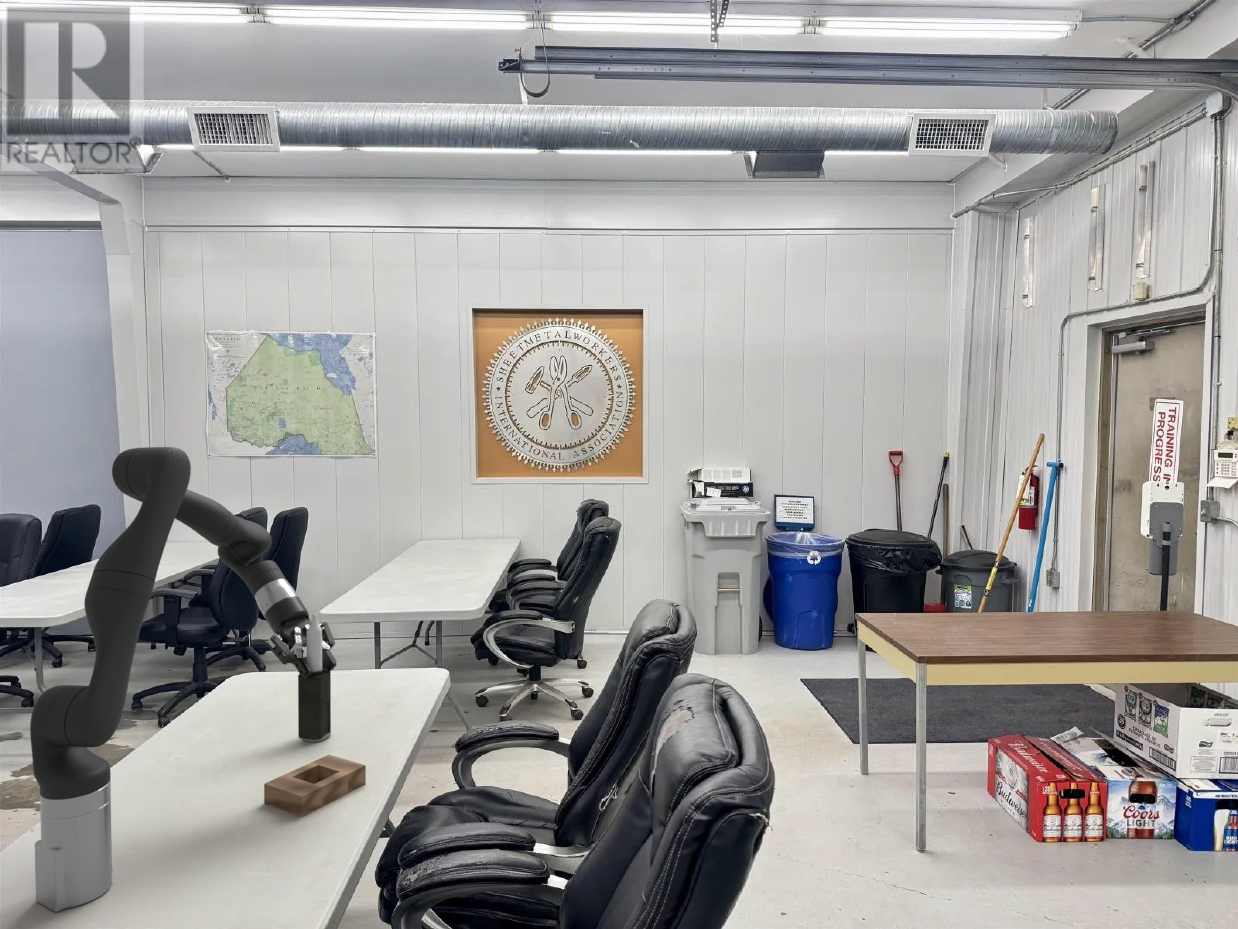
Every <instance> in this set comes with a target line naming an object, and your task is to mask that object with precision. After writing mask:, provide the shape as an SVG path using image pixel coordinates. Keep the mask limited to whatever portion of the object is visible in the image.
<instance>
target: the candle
mask: <svg viewBox="0 0 1238 929" xmlns="http://www.w3.org/2000/svg"><path fill="white" fill-rule="evenodd" d="M311 617H312V618H311V620H310V621H311V624H310V626H309V628H308V629H307V647H306V657H307V663H308V665H309V666H310V668H311V670H312V674H311V676H310V677H309V678H306V679H305V678H304V677H302V676H301V675H300V674H298V676H297V682H298V684H297V687H298V688H297V690H298V691H297V693H298V694H297V700H298V702H297V703H298V706H297V707H298V709H297V710H298V712H297V713H298V716H297V718H298V721H297V723H298V726H297V727H298V732H297V733H298V735H297V736H298V739H302V740H304V739H310V740H318V739H321V738H322V737H323V736H325V735H326V734H328V733H330V732H331V733H332V730H331V729H332V724H331V722H332V720H331V719H332V718H331V717H332V715H331V711H332V710H331V709H332V708H331V707H332V705H331V701H332V700H331V698H332V696H331V692H332V691H331V683H332V681H331V671H332V670H331V671H330V670H327V669H326V667H323V666H322V629H321V627H320V626H319V622H318V619H317V613H316V612H314V613H312V614H311Z"/></svg>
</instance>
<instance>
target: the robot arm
mask: <svg viewBox="0 0 1238 929" xmlns="http://www.w3.org/2000/svg"><path fill="white" fill-rule="evenodd" d="M191 465H192V464H191V460H190V458H189V456H188V454H187V453H186V452H185V451H184V450H183V449H180V448H179V447H174V446H173V447H172V446H153V447H152V446H151V447H134V448H129V449H126V450H124V451H121V452H120V453H119V454H118V455H117V456H116V457H115V459H114V461H113V463H112V467H111V475H112V476H111V477H112V480H113V482H114V484H115V487H117V489H118V490H119V491H120V492H121V493H123V494H124V495H126V496H128V497H129V498H132V499H134V500H136V501H138V502H141V506H140V508H139V509H138V512H137V514H136V516H135V518H134V519H133V520H132V522H131V523H130V524H129V526H127V528H125V530H124V531H123V532H122V533H121V534H120V535H119V536H118V537H117V538H116V539H115V540H114V541H113V542H112V543H110V545H109V546H108V547H107V548H106V549H105V551H104V552H103V553H102V554H101V555H100V557H99V559H98V560H97V561H96V563H95V566H94V569H93V571H92V574H91V577H90V580H89V583H88V587H87V590H86V592H85V596H84V604H83V605H84V611H85V616H86V619H87V623H88V626H89V629H90V632H91V634H92V638H93V642H94V646H95V660H94V666H93V670H92V674H91V678H90V682H89V684H88V685H79V684H77V685H73V684H72V685H71V684H70V685H69V684H66V685H65V684H63V685H62V684H61V685H56V686H52V687H50V688H48V689H46V690H44V692H43V693H42V694H41V695H40V696H39V697H38V698H37V700H36V702H35V704H34V706H33V709H32V712H31V717H30V724H29V725H30V727H29V729H30V730H29V731H30V732H29V733H30V737H29V738H30V746H31V747H30V748H31V759H32V771H33V777H34V779H35V781H36V782H37V784H38V786H39V800H40V801H39V803H40V804H39V806H40V807H39V808H40V839H39V840H37V841H35V842H34V870H35V872H34V873H35V874H34V875H35V876H34V878H35V879H34V880H35V902H37V903H39V904H40V905H42V906H45V907H46V908H47V909H50V910H51V911H53V912H54V913H57V912H58V913H59V912H60V911H62V910H65V909H68V908H69V909H70V908H73V907H74V908H75V907H78V906H81V905H83V904H86V903H87V904H88V903H89V902H91V901H93V900H96V899H98V898H99V897H101V896H102V895H105V893H107V891H109V889H110V888H111V887H112V885H113V846H112V845H113V844H112V842H113V841H112V840H113V839H112V835H113V834H112V784H111V782H112V781H111V778H112V777H111V776H112V775H111V766H110V763H109V761H108V760H107V759H104V757H101V756H100V755H97V754H95V753H93V752H92V751H91V750H89V748H97V747H101V746H103V745H105V744H106V743H107V742H109V741H110V740H111V738H112V737H113V736H114V735H115V732H116V730H117V729H118V727H119V725H120V722H121V719H122V715H123V713H124V708H125V705H126V704H125V703H126V699H127V694H128V693H127V692H128V687H129V682H130V677H131V670H132V666H133V660H134V657H135V652H136V648H137V643H138V640H139V637H140V633H141V629H142V625H143V622H144V619H145V615H146V612H147V609H148V606H149V603H150V600H151V596H152V593H153V590H154V588H155V583H156V578H157V574H158V570H159V568H160V567H159V566H160V564H161V560H162V557H163V554H164V550H165V547H166V545H167V542H168V538H169V535H170V533H171V529H172V527H173V525H174V522H175V520H177V521H179V522H180V523H182V524H183V525H185V526H186V527H189V529H191V530H193V531H194V532H196V533H197V535H200V536H201V537H202V538H204V540H207V541H208V542H209V543H210V544H212V545H214V546H217V555H218V557H219V558H218V559H220V560H221V562H223V564H225V565H226V566H227V567H228V568H229V569H231V570H232V571H233V572H234V573H236V574H237V576H238V577H240V579H241V580H242V581H243V582H244V584H245V585H246V586H247V588H248V589H249V591H250V593H251V594H252V596H253V598H254V599H255V602H256V604H257V606H258V608H259V610H260V612H261V614H262V615H263V617H264V619H265V620H266V622H267V623H268V625H269V628H270V629H271V630H272V632H273V633H274V634H272V636H270V638H268V640H267V641H266V646H267V647H268V648H269V650H270V651H271V653H273V654H274V655H275V657H276V658H277V659H278V661H280V662H281V663H282V665H287V664H291V665H293V666H294V667H295V668H296V671H297V672H298V673H299V674H300V675H301V676H302V677H304V678H305V679H306V678H309V677H310V676H311V674H312V670H311V668H310V666H309V665H308V663H307V661H306V660H305V658H304V657H303V651H302V648H307V629H308V628H309V626H310V624H311V621H312V620H311V619H310V615H309V611H308V610H307V608H306V607H305V604H304V603H303V601H302V600H301V598H300V596H299V594H298V593H297V592H296V590H295V589H294V587H293V586H292V585H291V584H290V582H289V581H288V580H287V578H286V577H285V575H284V574H283V571H282V570H281V569H280V566H278V564H277V563H276V562H275V561H274V560H269V559H268V560H263V561H260V562H256V563H254V564H251V562H253V561H254V560H256V559H257V558H259V557H261V556H262V555H263V554H265V553H266V552H268V551H269V550H270V548H271V546H272V541H273V540H272V535H271V534H270V532H269V531H268V530H267V529H266V528H265V527H263V526H262V525H261V524H258V523H256V522H254V521H251V520H248V519H245V518H242V517H239V516H236V515H235V514H234V513H232V512H231V511H230V510H228V508H226V507H225V506H224V505H222V504H221V503H220V502H217V501H216V500H214V499H212V498H210V497H207V496H205V495H203V494H200V493H197V492H195V491H192V490H190V489H188V487H189V484H190V479H191V471H192V470H191V469H192V466H191ZM249 564H251V565H249ZM318 625H319V626H320V627H321V629H322V661H323V663H324V664H325V666H326V667H327V669H328V670H330V671H332V670H334V669H335V668H336V667H337V664H338V663H337V659H336V658H335V656H334V655H333V653H332V651H331V649H332V648H333V647H334V646H335V645H336V641H335V639H334V636H333V633H332V631H331V628H330V626H329V624H328V622H327V621H323V622H322V623H320V624H319V623H318ZM299 674H298V675H299Z"/></svg>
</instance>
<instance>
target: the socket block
mask: <svg viewBox="0 0 1238 929" xmlns="http://www.w3.org/2000/svg"><path fill="white" fill-rule="evenodd" d="M366 771H367V770H366V765H365V764H363V763H359V762H356V761H352V760H349V759H345V758H343V757H339V756H334V755H332V754H327V755H324V756H322V757H320V758H318V759H315V760H314V761H311V762H309V763H307V764H305V765H302V766H300V767H298V768H296V769H293V770H291V771H290V772H287V773H285V774H283V775H281V776H280V775H279V776H278V777H275V778H274V779H272V780H269V781H267V782H265V783H263V789H264V790H263V793H264V794H263V802H264V803H263V804H264V805H265V804H266V805H267V804H268V805H267V806H270V807H273V808H276V809H279V810H282V811H284V812H287V811H288V812H287V813H290V814H293V815H295V814H296V816H297V817H298V816H299V817H301V818H302V817H303V818H304V817H305V816H306V815H307V816H308V815H309V814H311V813H312V811H313V812H314V811H317V810H318V809H321V808H322V807H324V806H325V804H326V805H328V804H330V803H332V802H333V801H336V800H337V799H339V798H342V797H343V796H346V795H347V794H349V793H351V792H353V791H355V790H357V789H359V788H361V787H363V786H365V785H366V783H367V782H366V779H367V778H366V776H367V775H366ZM316 809H317V810H316Z"/></svg>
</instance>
